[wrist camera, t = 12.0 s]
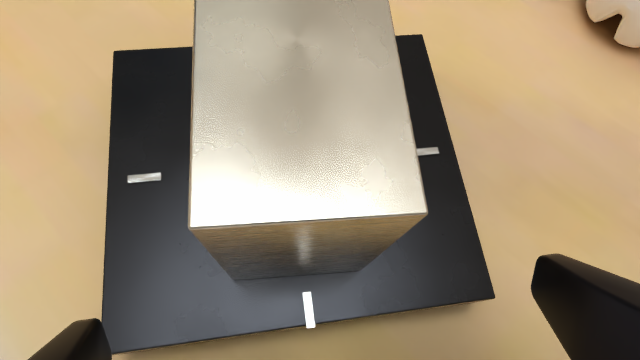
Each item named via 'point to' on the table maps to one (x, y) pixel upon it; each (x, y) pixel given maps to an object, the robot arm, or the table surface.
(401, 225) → the brushed aluminum block
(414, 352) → the table surface
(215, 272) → the dial plate
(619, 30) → the water bottle
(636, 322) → the robot arm
